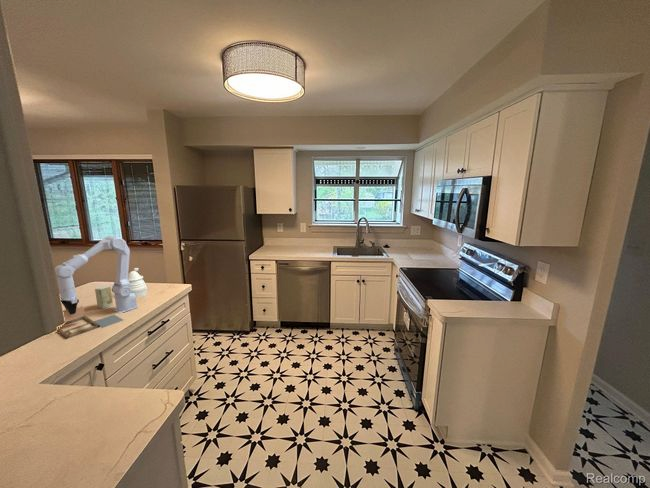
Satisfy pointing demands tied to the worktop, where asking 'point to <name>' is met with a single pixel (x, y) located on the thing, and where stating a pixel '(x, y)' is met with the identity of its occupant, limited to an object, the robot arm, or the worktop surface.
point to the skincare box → (104, 297)
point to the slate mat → (108, 321)
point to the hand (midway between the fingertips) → (71, 313)
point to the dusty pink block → (78, 313)
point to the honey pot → (137, 283)
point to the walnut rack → (78, 327)
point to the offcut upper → (80, 329)
